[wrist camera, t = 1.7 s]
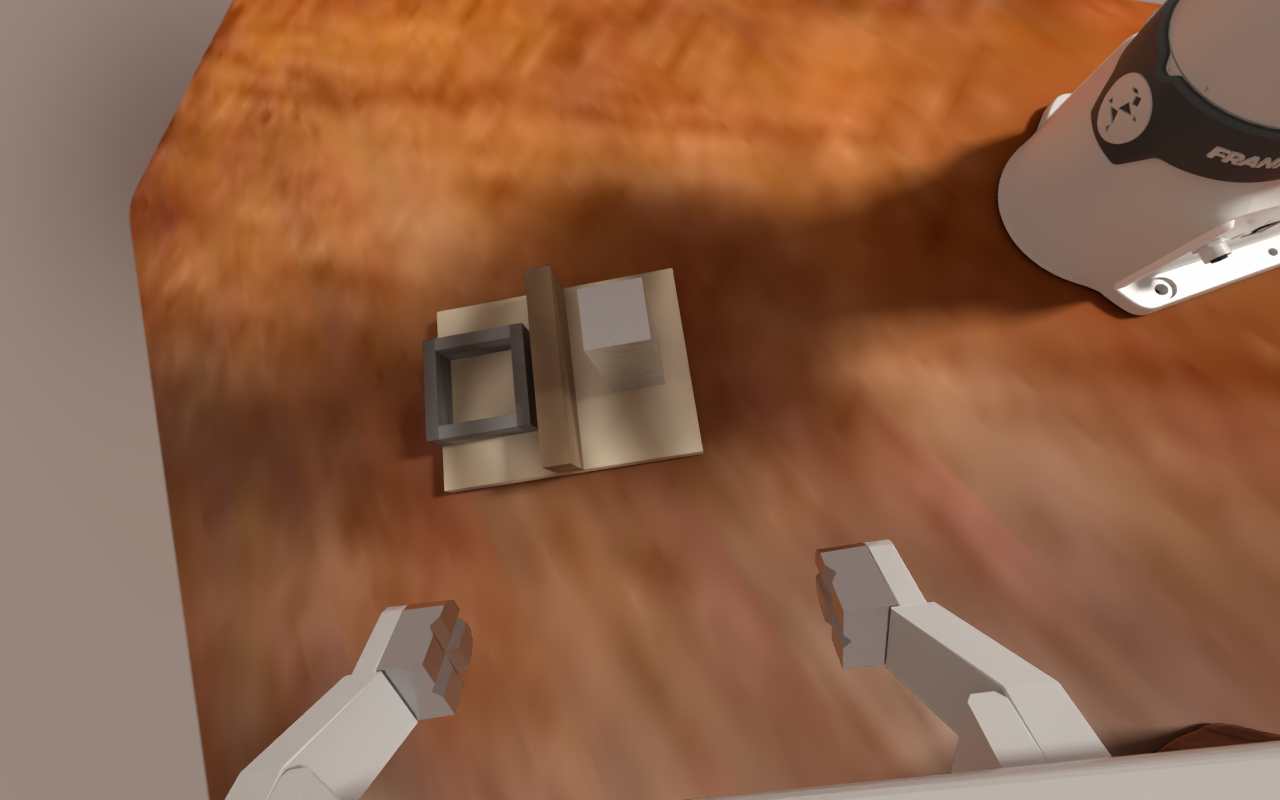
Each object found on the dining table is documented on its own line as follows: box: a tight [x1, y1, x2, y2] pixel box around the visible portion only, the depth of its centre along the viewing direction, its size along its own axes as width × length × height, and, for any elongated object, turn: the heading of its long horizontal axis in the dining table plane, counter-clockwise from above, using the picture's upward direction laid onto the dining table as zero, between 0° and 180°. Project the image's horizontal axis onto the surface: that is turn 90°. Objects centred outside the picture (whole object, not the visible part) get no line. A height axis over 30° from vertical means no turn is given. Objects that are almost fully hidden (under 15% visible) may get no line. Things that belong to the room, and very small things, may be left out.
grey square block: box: [577, 277, 665, 393], centre depth 36 cm, size 4×4×10 cm
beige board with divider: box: [423, 265, 703, 492], centre depth 40 cm, size 20×15×6 cm
